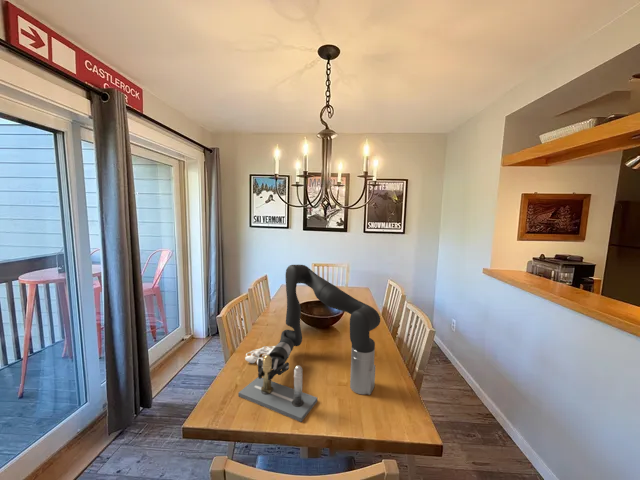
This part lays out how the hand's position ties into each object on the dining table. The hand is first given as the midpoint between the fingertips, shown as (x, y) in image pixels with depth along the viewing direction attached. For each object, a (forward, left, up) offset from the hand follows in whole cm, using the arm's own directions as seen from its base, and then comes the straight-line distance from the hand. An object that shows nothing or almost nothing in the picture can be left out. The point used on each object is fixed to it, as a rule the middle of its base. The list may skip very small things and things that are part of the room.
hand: (264, 377), depth 106 cm
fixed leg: (-13, -3, -8) cm, 15 cm away
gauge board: (-4, -3, -9) cm, 10 cm away
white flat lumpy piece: (+20, -24, -10) cm, 33 cm away
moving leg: (+1, -3, -7) cm, 8 cm away
